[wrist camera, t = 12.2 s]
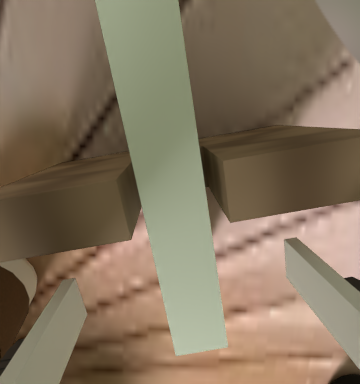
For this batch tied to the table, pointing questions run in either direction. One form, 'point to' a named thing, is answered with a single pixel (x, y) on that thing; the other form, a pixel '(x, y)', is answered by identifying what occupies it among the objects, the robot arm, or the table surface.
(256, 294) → the table surface
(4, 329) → the coffee cup
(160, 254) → the sage plate
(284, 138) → the slotted board
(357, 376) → the mug
